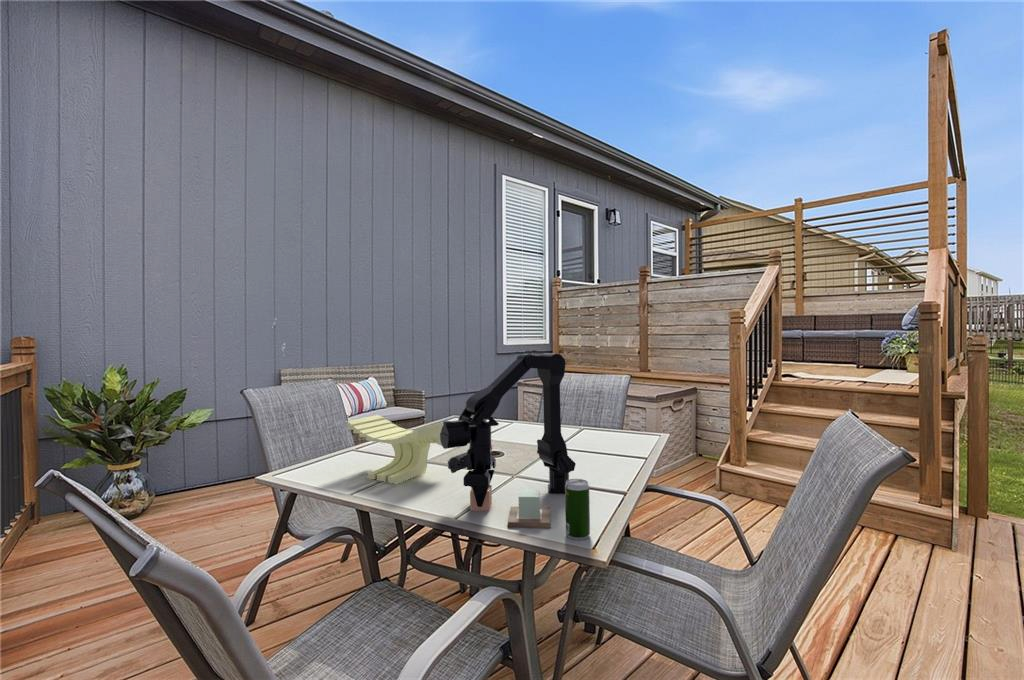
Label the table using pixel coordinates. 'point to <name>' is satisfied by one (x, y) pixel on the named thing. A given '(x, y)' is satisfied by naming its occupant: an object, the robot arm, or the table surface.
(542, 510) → the tower base
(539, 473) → the table surface
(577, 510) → the beer can
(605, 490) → the table surface
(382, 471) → the slatted curved stool
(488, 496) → the dusty pink cube
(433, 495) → the table surface
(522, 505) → the brick sage
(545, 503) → the table surface
